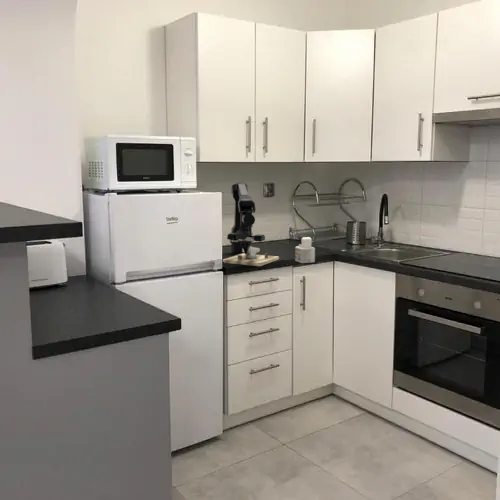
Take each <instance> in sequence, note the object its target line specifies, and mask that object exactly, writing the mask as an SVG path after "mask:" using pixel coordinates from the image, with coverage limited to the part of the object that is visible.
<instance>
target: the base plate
mask: <svg viewBox="0 0 500 500" xmlns="http://www.w3.org/2000/svg"><path fill="white" fill-rule="evenodd" d="M257 253H258V252H257ZM257 253H256V256H250V253H247V254H245V253H243V254H235V255H234V256H229V257H227V258H224V259H222V260H223V262H224V263H223V264H234V265H245V266H253V267H254V266H255V267H262V266H264V265H267V264H270V263H272V262H276V261H278V260H280V256H275V255H269V253H268V252H266V253H264V254H257Z"/></svg>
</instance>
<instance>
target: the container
mask: <svg viewBox="0 0 500 500" xmlns="http://www.w3.org/2000/svg"><path fill="white" fill-rule="evenodd" d="M312 240H313V239H312V237H310V236H300V237H299V238H298V245H297V246H295V248H294V249H295V251H294V253H295V256H294V257H295V258H294V261H295V262H298V263H300V264H309V263H310V264H311V263H315V262H316V261H315V260H316V248H315V247H313V246H312Z"/></svg>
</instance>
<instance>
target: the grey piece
mask: <svg viewBox="0 0 500 500" xmlns="http://www.w3.org/2000/svg"><path fill="white" fill-rule="evenodd" d="M260 249H261V248H260V247H255V246H252V245H250V247H249V250H248V252H247V253H250V256H256V253H259V252H260ZM242 252H244V250H243V249H242Z"/></svg>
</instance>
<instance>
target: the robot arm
mask: <svg viewBox="0 0 500 500" xmlns="http://www.w3.org/2000/svg"><path fill="white" fill-rule="evenodd" d="M230 193H231V196H232V198H233V199H234V216H233V217H234V219H233V221H234V224H233V226H232V228H231V231H230V233H228V234H227V236H226V238H227V240H228V241H229V244H230V245H231V250H230V251H231V252H229V254H231V255H239V254H243V253H244V254H247V252H248V250H249V247H250V246H252V243H253V242H263V241H265V240H266V235H265V234H255V235H253V231H252V229H253V225H254V224H255V222H256V218H255V216H254V215H253V214H254V213H256V210H257V208H256V203H255V201H254V200H253V198H252V196H250V195H249V193H248V184H247V183H246V182H245V181H238V182H236V183H235V184H232V185H231V187H230ZM242 249H243V250H244V252H242Z"/></svg>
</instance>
